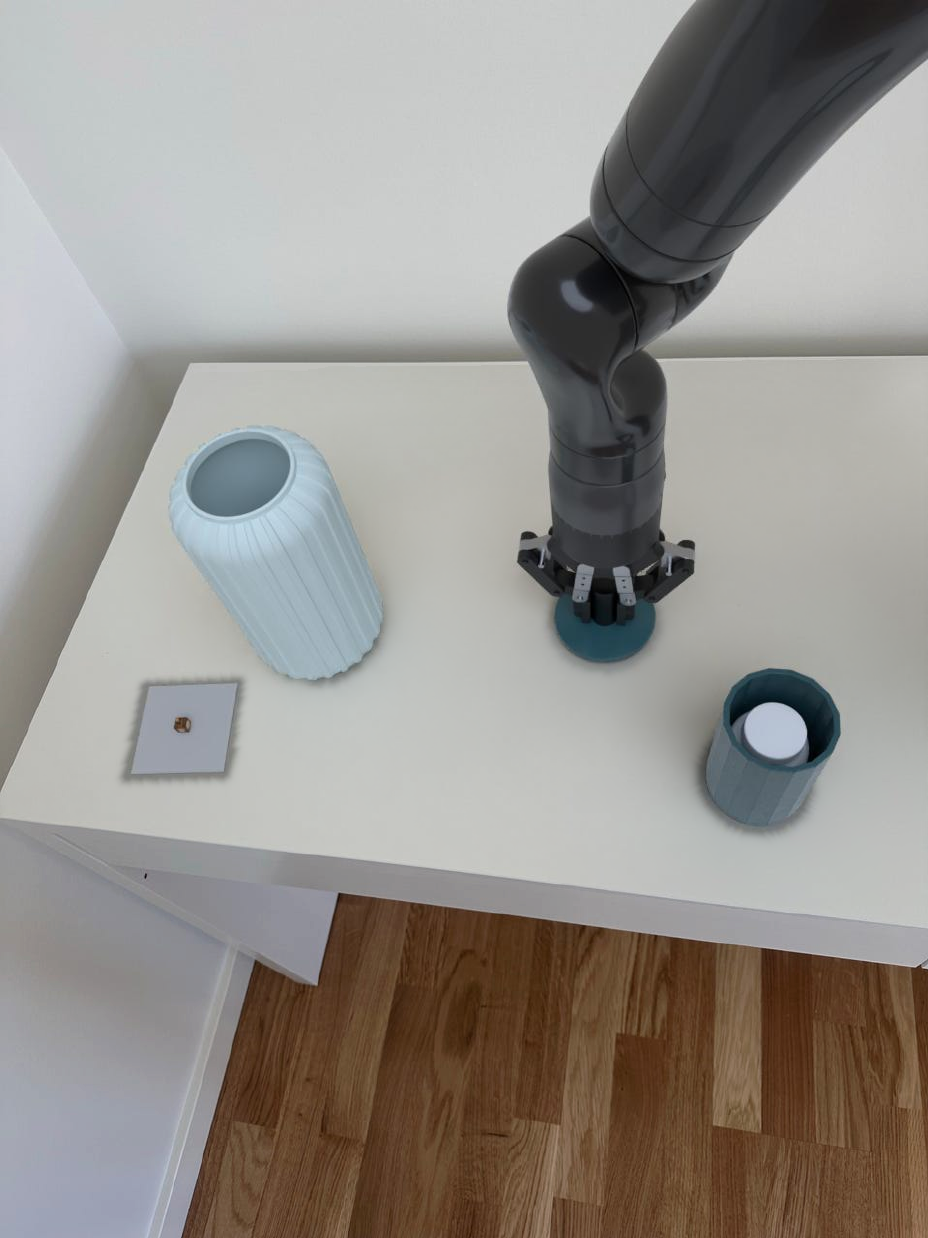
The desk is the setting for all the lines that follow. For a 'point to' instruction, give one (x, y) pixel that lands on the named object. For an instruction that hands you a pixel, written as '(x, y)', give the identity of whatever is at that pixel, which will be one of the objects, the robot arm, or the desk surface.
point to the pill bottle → (773, 734)
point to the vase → (278, 549)
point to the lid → (604, 625)
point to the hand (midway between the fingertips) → (604, 614)
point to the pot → (753, 783)
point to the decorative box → (185, 729)
